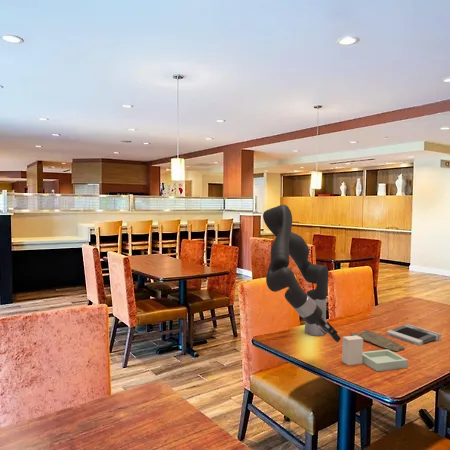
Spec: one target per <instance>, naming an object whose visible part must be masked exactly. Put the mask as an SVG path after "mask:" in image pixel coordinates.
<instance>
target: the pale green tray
mask: <svg viewBox="0 0 450 450" xmlns="http://www.w3.org/2000/svg"><path fill="white" fill-rule="evenodd" d="M362 364H364V365H366V366H368V367H369V368H371V369H372V370H374V371H376V372H384V371H392V370H398V369H406V368H408V366H409V359H408V358H405V357H403V356H401V355H400V354H398V353H396V352H395V351H393V350H390V349H387V348H385V349H378V350H371V351H370V350H369V351H363V359H362Z"/></svg>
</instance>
